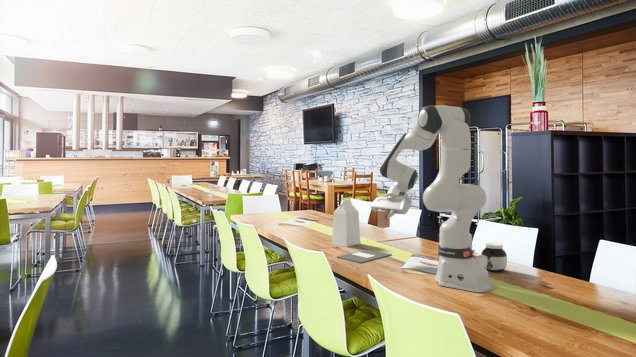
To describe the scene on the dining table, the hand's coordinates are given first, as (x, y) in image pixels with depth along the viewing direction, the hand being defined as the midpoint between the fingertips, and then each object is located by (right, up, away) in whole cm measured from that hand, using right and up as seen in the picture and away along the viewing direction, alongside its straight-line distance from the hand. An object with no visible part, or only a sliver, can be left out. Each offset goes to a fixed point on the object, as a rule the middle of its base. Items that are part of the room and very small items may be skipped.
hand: (382, 218), depth 192 cm
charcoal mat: (-8, -20, +10) cm, 24 cm away
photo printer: (+43, -20, +13) cm, 49 cm away
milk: (-15, -19, +42) cm, 48 cm away
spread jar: (+44, -22, -17) cm, 52 cm away
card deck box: (0, -4, +1) cm, 4 cm away
